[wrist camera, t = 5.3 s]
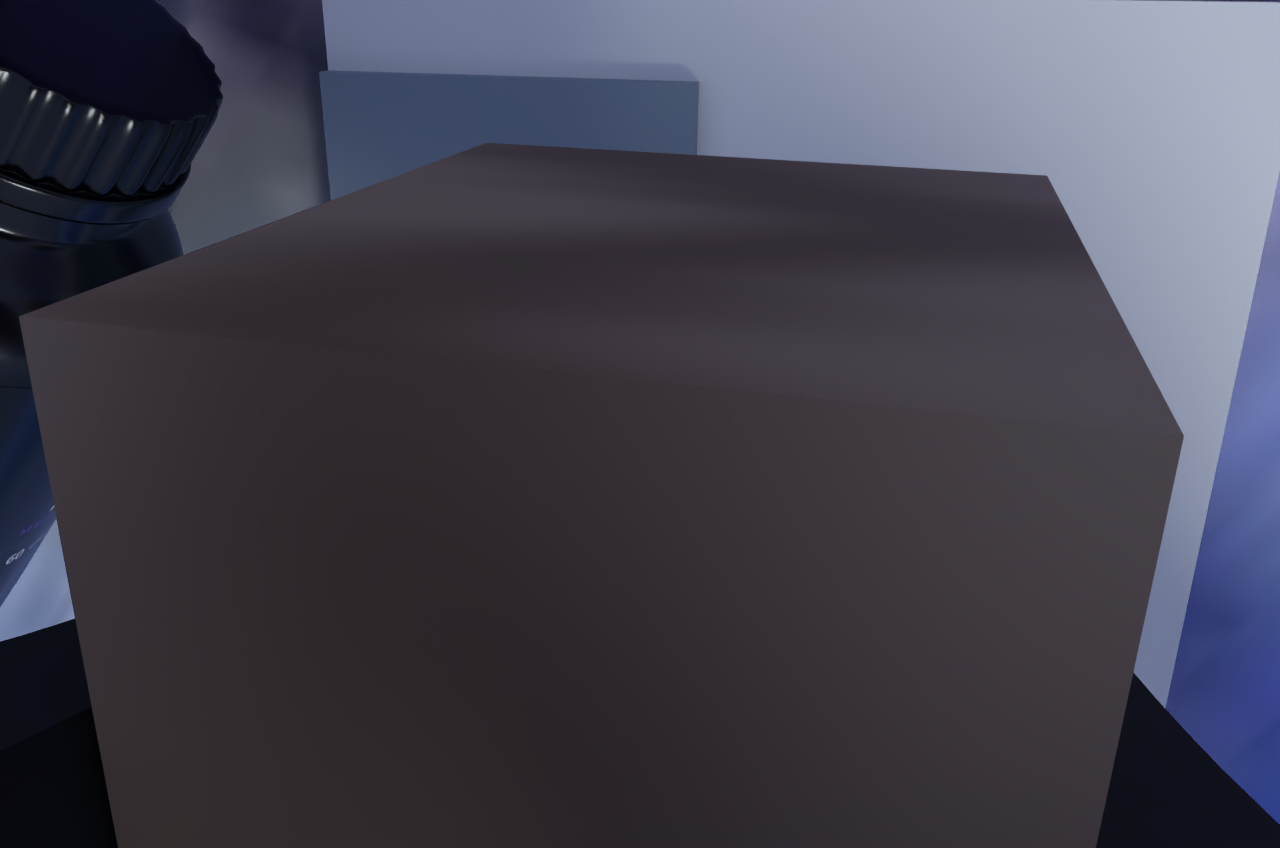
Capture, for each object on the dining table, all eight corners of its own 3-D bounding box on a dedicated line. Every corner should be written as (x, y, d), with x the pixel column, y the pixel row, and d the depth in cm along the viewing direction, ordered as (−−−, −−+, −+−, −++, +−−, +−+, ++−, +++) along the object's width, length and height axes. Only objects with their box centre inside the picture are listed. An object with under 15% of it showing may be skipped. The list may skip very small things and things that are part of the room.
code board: (1302, 2, 15) (1316, 2, 15) (1157, 697, 19) (1163, 721, 19) (339, -12, 18) (320, -11, 18) (390, 591, 22) (375, 607, 22)
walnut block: (1046, 175, 10) (1183, 434, 4) (935, 909, 13) (930, 1615, 7) (485, 142, 11) (18, 315, 5) (505, 825, 14) (219, 1386, 8)
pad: (699, 81, 17) (694, 83, 17) (685, 592, 20) (682, 600, 20) (327, 70, 18) (318, 71, 18) (371, 550, 21) (363, 558, 21)
